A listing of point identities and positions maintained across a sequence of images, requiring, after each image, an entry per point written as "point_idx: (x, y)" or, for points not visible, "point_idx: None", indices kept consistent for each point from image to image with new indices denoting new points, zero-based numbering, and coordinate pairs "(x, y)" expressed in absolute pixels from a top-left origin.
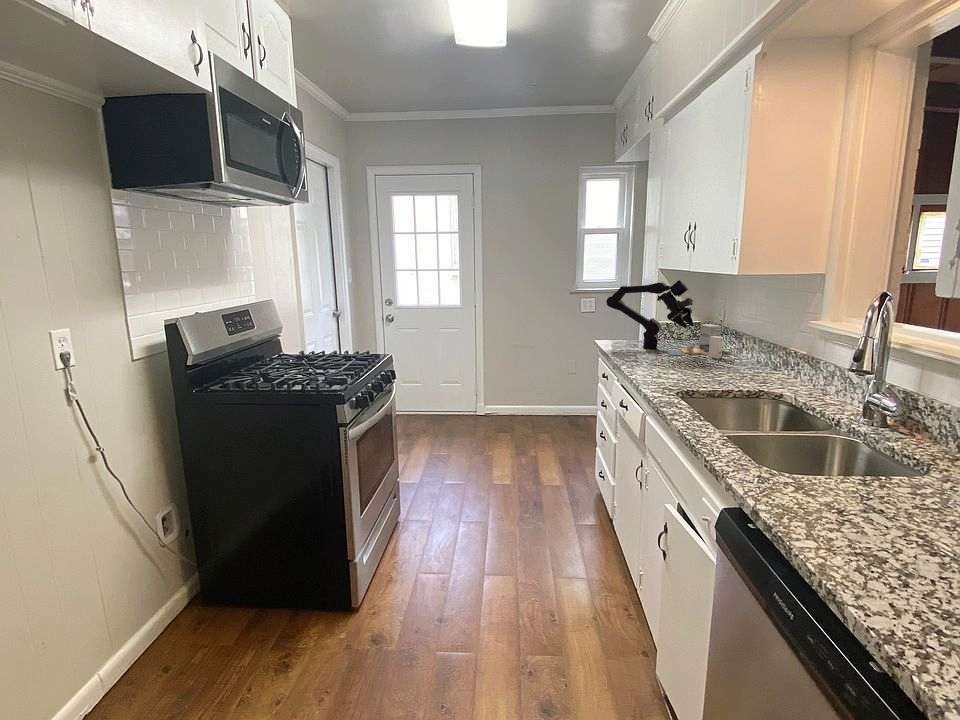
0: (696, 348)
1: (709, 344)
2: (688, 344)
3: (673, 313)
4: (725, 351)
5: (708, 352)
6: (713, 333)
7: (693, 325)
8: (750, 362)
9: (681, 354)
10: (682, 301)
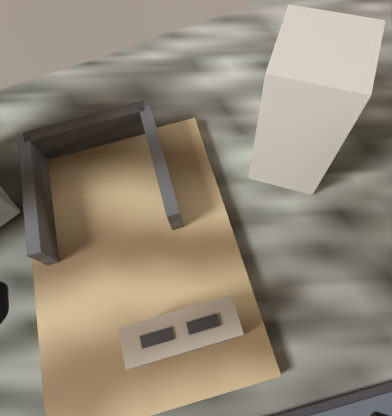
0: (42, 288)
1: (341, 144)
2: (149, 352)
3: None
4: (42, 116)
5: (189, 196)
6: None
7: (4, 292)
8: (338, 4)
9: (375, 396)
10: None
